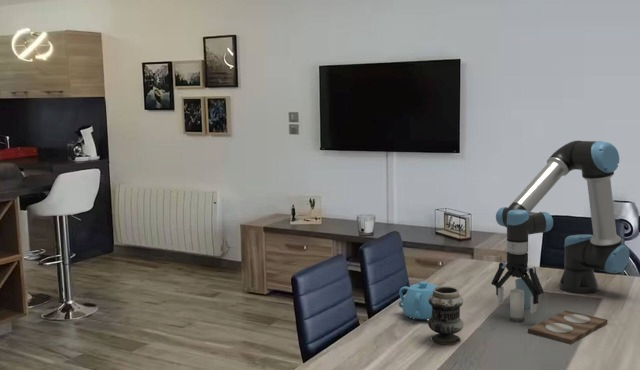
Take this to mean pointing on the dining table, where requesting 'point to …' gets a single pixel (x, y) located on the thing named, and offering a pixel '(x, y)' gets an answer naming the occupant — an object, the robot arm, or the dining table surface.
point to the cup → (527, 293)
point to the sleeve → (517, 305)
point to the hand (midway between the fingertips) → (516, 308)
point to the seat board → (567, 326)
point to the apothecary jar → (445, 314)
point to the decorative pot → (417, 300)
